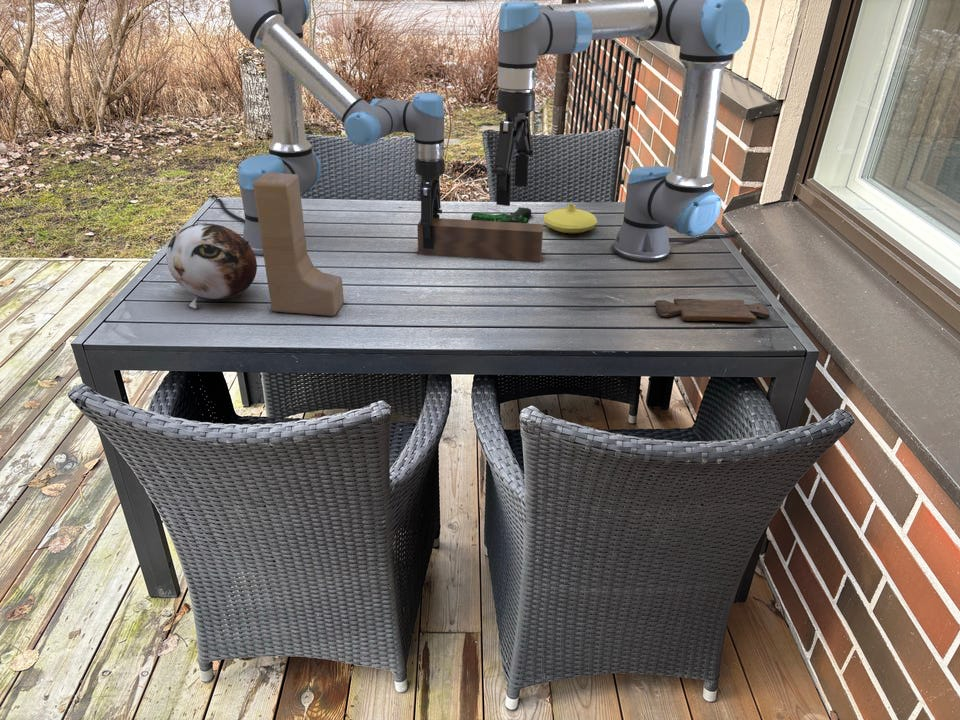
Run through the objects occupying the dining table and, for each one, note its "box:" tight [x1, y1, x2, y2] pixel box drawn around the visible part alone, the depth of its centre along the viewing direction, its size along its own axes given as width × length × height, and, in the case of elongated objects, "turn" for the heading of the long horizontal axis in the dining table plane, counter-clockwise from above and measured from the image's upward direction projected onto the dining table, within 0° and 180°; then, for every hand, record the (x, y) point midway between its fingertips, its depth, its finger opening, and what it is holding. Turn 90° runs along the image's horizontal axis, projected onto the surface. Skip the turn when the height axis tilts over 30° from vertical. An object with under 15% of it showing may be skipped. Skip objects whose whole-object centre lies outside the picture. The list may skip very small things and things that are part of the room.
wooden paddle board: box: [654, 298, 771, 323], centre depth 165 cm, size 26×2×10 cm
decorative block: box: [253, 173, 345, 317], centre depth 157 cm, size 8×15×30 cm, turn 82°
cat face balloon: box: [165, 222, 258, 309], centre depth 165 cm, size 22×18×20 cm
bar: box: [416, 217, 544, 263], centre depth 192 cm, size 33×6×8 cm, turn 83°
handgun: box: [470, 206, 532, 223], centre depth 216 cm, size 16×3×15 cm
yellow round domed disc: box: [543, 203, 598, 234], centre depth 209 cm, size 16×16×7 cm
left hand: (431, 242), depth 194 cm, fingers open, 8 cm apart
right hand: (512, 195), depth 151 cm, fingers open, 13 cm apart
